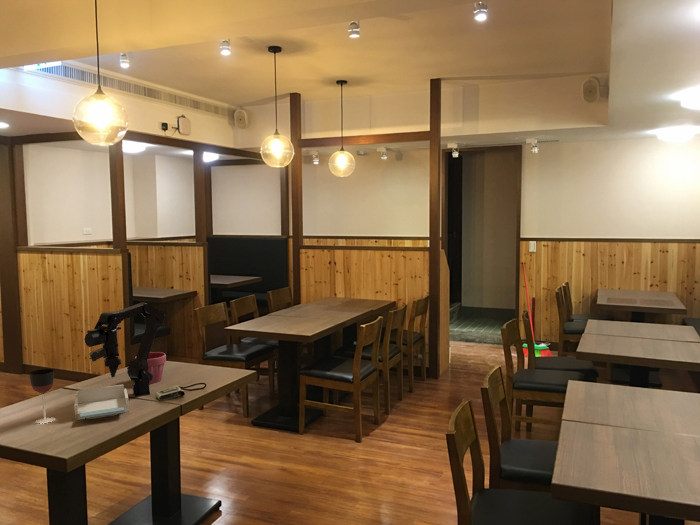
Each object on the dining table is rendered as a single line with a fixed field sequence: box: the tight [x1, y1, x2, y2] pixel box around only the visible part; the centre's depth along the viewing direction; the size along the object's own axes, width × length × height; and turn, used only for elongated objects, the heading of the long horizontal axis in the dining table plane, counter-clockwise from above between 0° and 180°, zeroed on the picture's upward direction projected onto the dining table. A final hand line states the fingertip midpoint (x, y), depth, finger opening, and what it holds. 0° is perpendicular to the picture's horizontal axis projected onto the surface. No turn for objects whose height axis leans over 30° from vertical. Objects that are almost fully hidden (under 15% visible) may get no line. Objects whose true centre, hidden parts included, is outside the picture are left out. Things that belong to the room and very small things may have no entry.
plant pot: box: [134, 351, 167, 384], centre depth 275 cm, size 14×14×13 cm
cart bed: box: [73, 384, 130, 421], centre depth 234 cm, size 20×14×8 cm
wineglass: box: [28, 368, 56, 425], centre depth 223 cm, size 8×9×20 cm
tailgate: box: [79, 407, 126, 420], centre depth 224 cm, size 16×2×8 cm
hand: (112, 377), depth 242 cm, fingers closed
